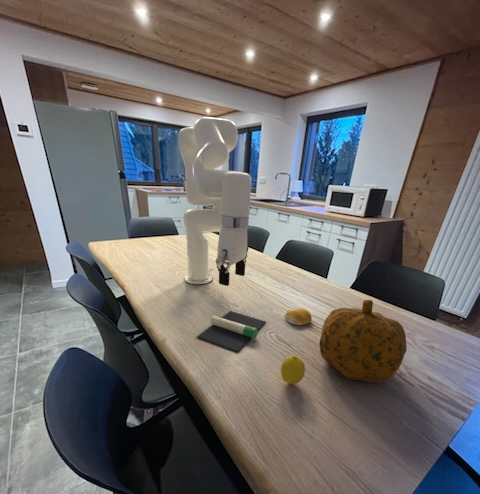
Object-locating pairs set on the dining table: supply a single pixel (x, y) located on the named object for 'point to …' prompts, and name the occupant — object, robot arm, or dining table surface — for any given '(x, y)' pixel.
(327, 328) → the decorative pumpkin
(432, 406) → the dining table surface
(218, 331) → the felt mat
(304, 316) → the bread roll
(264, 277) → the dining table surface
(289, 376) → the lemon
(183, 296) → the dining table surface
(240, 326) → the marker
